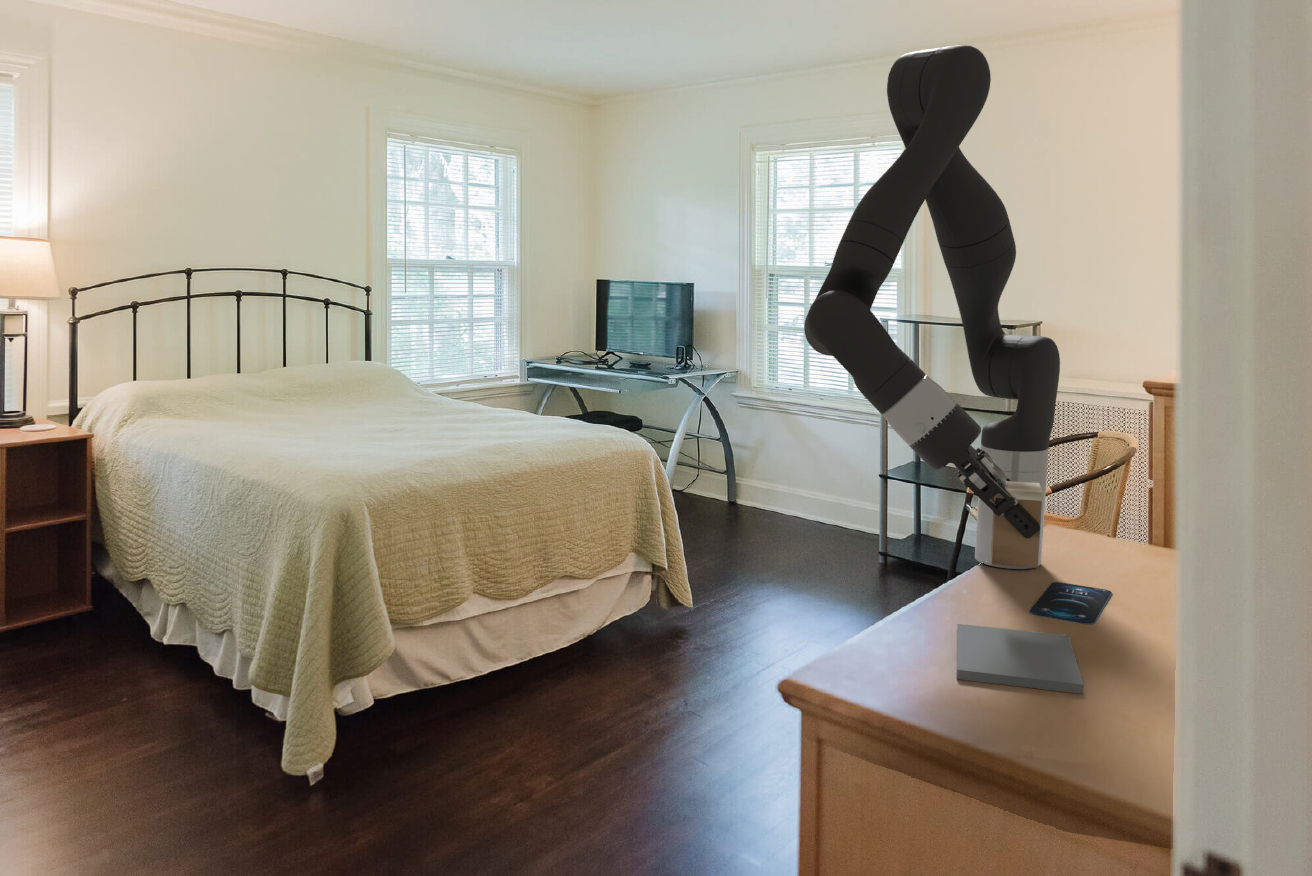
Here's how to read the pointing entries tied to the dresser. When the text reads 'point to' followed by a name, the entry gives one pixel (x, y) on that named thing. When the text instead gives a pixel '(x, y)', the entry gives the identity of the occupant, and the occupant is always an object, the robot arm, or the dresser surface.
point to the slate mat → (1017, 658)
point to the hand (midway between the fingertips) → (1032, 526)
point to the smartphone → (1071, 603)
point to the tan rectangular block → (1006, 538)
